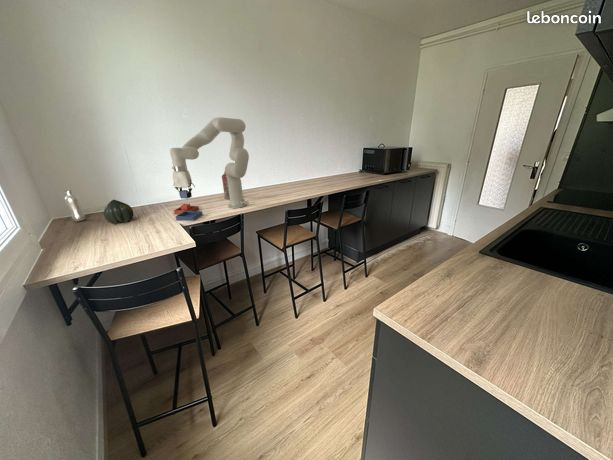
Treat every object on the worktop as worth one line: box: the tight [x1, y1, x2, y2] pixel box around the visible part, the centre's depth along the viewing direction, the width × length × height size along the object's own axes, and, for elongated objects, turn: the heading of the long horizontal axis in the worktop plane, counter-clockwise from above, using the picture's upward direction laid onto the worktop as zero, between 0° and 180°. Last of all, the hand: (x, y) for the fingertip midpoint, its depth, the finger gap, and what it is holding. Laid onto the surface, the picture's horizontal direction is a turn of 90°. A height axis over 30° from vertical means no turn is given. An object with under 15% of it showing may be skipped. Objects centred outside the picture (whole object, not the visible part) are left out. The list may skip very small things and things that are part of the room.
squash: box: [103, 199, 134, 225], centre depth 158 cm, size 14×15×15 cm
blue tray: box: [175, 210, 204, 222], centre depth 166 cm, size 12×11×2 cm
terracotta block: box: [180, 203, 192, 211], centre depth 177 cm, size 4×4×4 cm
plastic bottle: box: [63, 189, 86, 223], centre depth 159 cm, size 6×7×20 cm
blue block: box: [179, 189, 189, 200], centre depth 161 cm, size 4×4×4 cm
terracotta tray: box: [173, 205, 200, 215], centre depth 177 cm, size 12×11×2 cm
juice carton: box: [221, 170, 230, 201], centre depth 205 cm, size 7×7×22 cm
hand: (186, 197), depth 162 cm, fingers closed on blue block, 4 cm apart
